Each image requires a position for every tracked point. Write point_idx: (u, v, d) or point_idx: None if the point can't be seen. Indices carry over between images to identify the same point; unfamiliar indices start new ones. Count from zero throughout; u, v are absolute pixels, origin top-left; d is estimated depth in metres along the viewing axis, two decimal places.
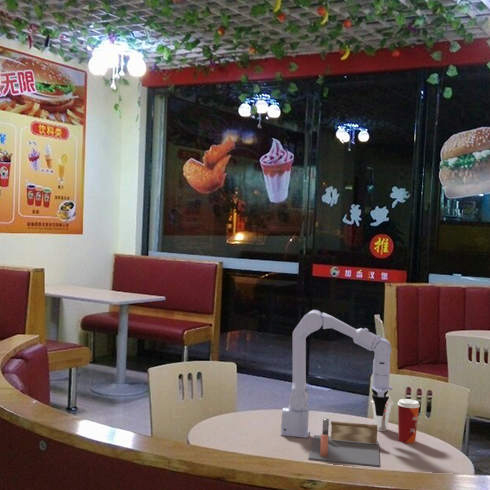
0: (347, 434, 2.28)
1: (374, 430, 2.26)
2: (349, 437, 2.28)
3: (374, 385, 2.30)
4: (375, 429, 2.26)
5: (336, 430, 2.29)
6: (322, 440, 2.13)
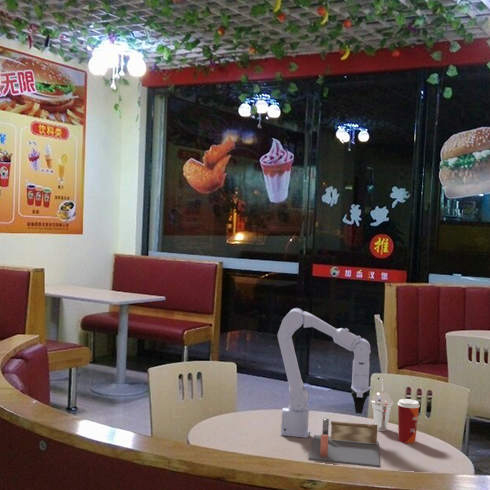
0: (347, 434, 2.28)
1: (374, 430, 2.26)
2: (349, 437, 2.28)
3: (353, 385, 2.31)
4: (375, 429, 2.26)
5: (336, 430, 2.29)
6: (322, 440, 2.13)
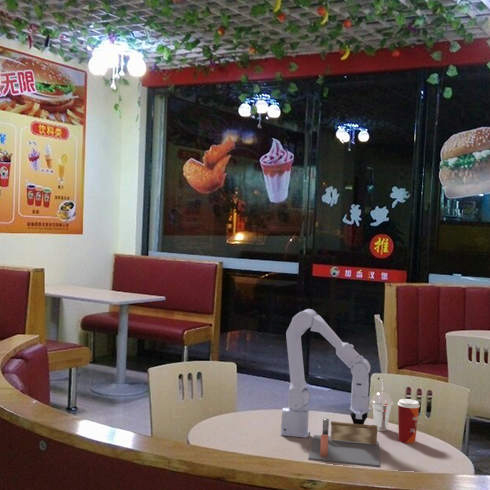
0: (347, 434, 2.28)
1: (374, 431, 2.25)
2: (349, 437, 2.28)
3: (352, 406, 2.28)
4: (375, 430, 2.25)
5: (336, 430, 2.29)
6: (322, 440, 2.13)
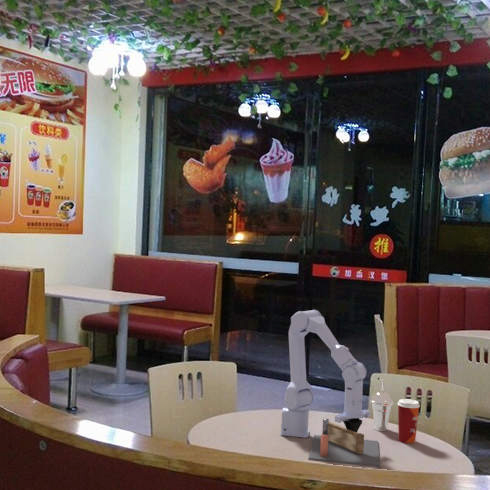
0: (339, 438, 2.23)
1: (357, 439, 2.16)
2: (340, 441, 2.23)
3: (344, 410, 2.22)
4: (358, 438, 2.16)
5: (331, 431, 2.26)
6: (322, 440, 2.13)
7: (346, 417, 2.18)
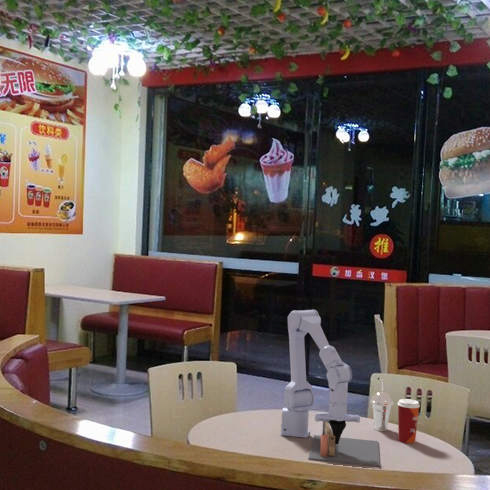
0: None
1: (329, 440, 2.13)
2: None
3: None
4: (329, 439, 2.13)
5: (325, 432, 2.26)
6: (322, 440, 2.13)
7: (324, 417, 2.17)
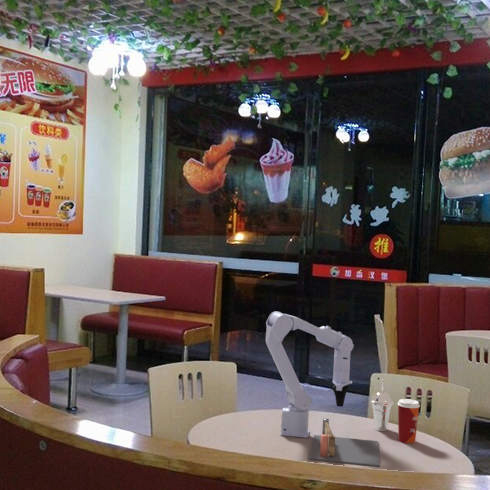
0: None
1: (329, 440, 2.13)
2: None
3: (334, 379, 2.39)
4: (329, 439, 2.13)
5: (325, 432, 2.26)
6: (322, 440, 2.13)
7: (344, 384, 2.36)
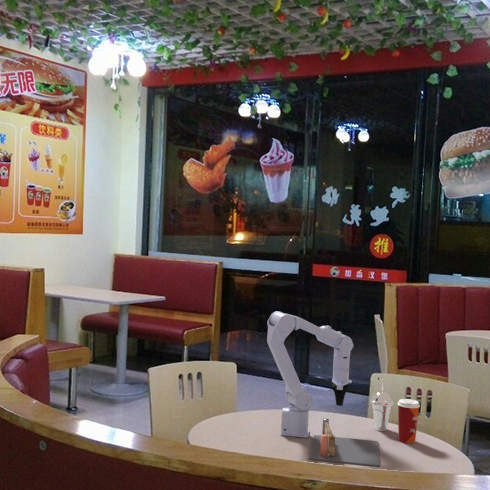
0: None
1: (329, 440, 2.13)
2: None
3: (334, 379, 2.40)
4: (329, 439, 2.13)
5: (325, 432, 2.26)
6: (322, 440, 2.13)
7: (344, 384, 2.37)
